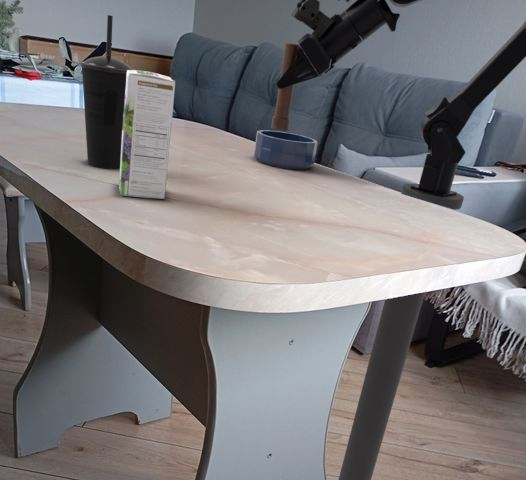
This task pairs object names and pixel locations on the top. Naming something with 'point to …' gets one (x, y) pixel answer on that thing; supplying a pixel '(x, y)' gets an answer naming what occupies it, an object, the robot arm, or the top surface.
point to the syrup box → (146, 134)
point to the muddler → (285, 92)
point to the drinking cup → (104, 105)
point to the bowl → (285, 149)
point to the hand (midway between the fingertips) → (278, 86)
